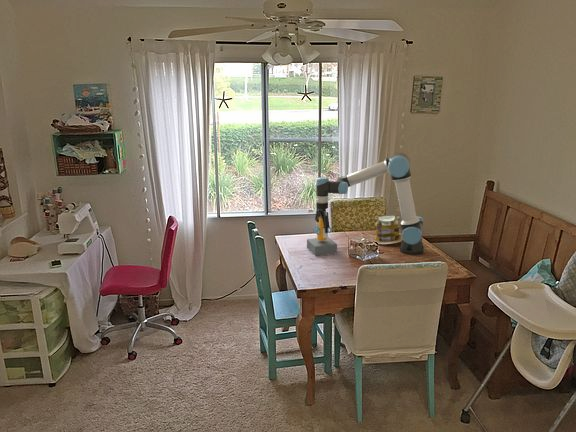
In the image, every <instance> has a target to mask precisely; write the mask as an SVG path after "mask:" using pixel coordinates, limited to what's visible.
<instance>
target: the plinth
mask: <svg viewBox="0 0 576 432" xmlns="http://www.w3.org/2000/svg"><path fill="white" fill-rule="evenodd" d="M306 248H307V250H308V251H310V253H312V255H314V256H322V255H330V254H331V255H332V254H337V253H338V243H337V242H335V241H334V240H333V239H332V238H331V237H329V236H328V238H327V239H326V240H325V241H319V240H317V237H315V238H307V239H306Z"/></svg>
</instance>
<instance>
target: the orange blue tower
mask: <svg viewBox="0 0 576 432" xmlns="http://www.w3.org/2000/svg"><path fill="white" fill-rule="evenodd" d="M318 226H319V228H318ZM323 227H324V224H323V220H322V218H321V216H320V217H319V225H317V227H316V226H313V228H312V232H313V233H315V234H316V238H317V240H319V241H325V240H326V239H327V238H323V231H324V228H323ZM316 228H317V230H314V229H316ZM330 233H332V227H330V228H329V231H328V234H330Z"/></svg>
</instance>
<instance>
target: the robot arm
mask: <svg viewBox="0 0 576 432" xmlns="http://www.w3.org/2000/svg"><path fill="white" fill-rule="evenodd" d="M410 164H411V161H410V158H409V156H408V155H407V154H405V153H403V152H399V153H398V152H397V153H395V154H393V155H391V156H389V157H386V158H385V159H384V160H383V161H380V162H378V163H376V164H372V165H370V166H368V167H364V168H363V169H359V170H357V171H355V172H352V173H348V174H346V175H343V176H340V177H338V178H337V179H336V181H331V180H329V178H328V177H325V176H320V177H317V178H316V182H315V183H316V184H315V186H316V187H315V188H316V194H315V195H316V197H315V200H316V203H315V205H316V206H315V209H316V211H315V215H314V217H315V218H314V220H315V223H316V226H315V227H317V225H319V217H320V216H321V218H322V220H323V224H324V227H323V228H324V231H323V238H328V237H329V233H328V232H329V229H330V228H331V227H330V221H329V220H330V219H329V212H328V211H326V210H327V209H328V208H329V194H334V195H336V194H337V195H347V194H348V191H349V188H350V187H352V186H355V185H358V184H361V183H363V182H365V181H369V180H371V179H374V178H377V177H380V176H382V175H385V174H390V179H391V181H392V182H394V186H395V191H396V196H397V200H398V205H399V210H400V215H401V221H400V223H399V224H400V231H401V234H402V238H403V240H402V241H401V242H400V245H399V252H401V253H402V254H404V255H410V256H417V255H418V256H419V255H422V254H424V252H425V248H424V244H423V241H422V240H423V227H424V226H423V225H424V218H423V217H422V216H419V215H418V216H417V213H416V207H415V202H414V197H413V192H412V187H411V181H410V179H411V177H412V172H411V168H410V167H411V166H410ZM318 228H319V226H318ZM315 229H316V230H317V228H315ZM316 230H315V231H316Z"/></svg>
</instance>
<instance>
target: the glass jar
mask: <svg viewBox="0 0 576 432" xmlns="http://www.w3.org/2000/svg"><path fill="white" fill-rule="evenodd" d="M375 230H376V232H375V233H376V234H375V236H373V237H374V239H375V240H376V241H377V243H378V245H388V244H389V245H391V244H392V245H393V244H397V243H401V242H402V240H403V238H402V232H401V226H399V220H397V219H396V216H395V215H383V216H379V217H378V218H377V221H376V222H375Z"/></svg>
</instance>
